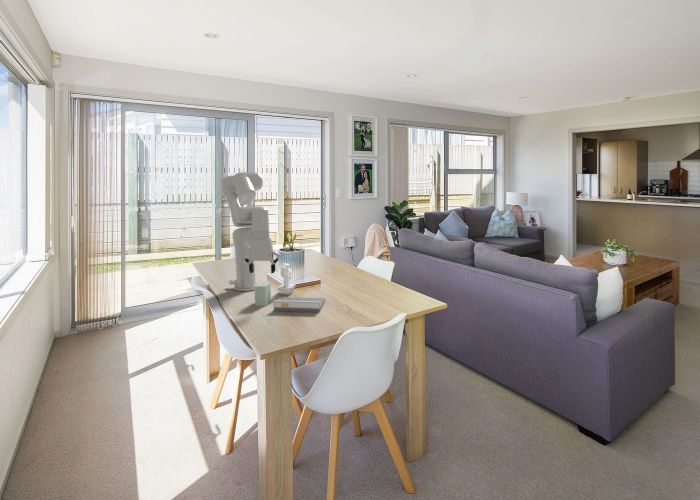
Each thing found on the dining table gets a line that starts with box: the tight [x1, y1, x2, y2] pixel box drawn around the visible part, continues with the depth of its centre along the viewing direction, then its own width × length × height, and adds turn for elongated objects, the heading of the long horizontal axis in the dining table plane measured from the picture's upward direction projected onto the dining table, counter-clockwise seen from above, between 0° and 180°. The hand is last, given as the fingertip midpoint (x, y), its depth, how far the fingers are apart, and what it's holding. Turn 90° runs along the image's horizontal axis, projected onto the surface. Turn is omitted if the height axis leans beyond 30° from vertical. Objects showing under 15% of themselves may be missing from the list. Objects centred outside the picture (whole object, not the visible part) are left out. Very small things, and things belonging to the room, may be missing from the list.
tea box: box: [254, 281, 272, 307], centre depth 191 cm, size 8×5×9 cm, turn 175°
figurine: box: [277, 263, 297, 296], centre depth 206 cm, size 7×9×15 cm
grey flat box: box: [273, 296, 326, 313], centre depth 187 cm, size 20×16×4 cm
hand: (262, 272), depth 189 cm, fingers open, 9 cm apart
